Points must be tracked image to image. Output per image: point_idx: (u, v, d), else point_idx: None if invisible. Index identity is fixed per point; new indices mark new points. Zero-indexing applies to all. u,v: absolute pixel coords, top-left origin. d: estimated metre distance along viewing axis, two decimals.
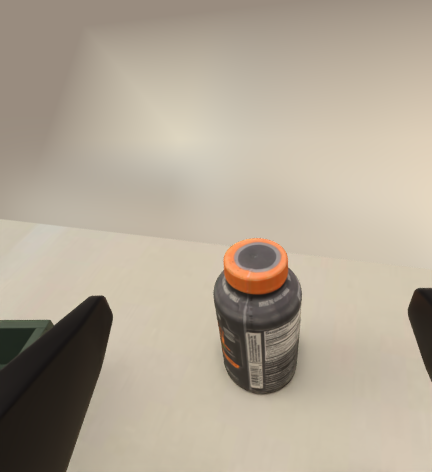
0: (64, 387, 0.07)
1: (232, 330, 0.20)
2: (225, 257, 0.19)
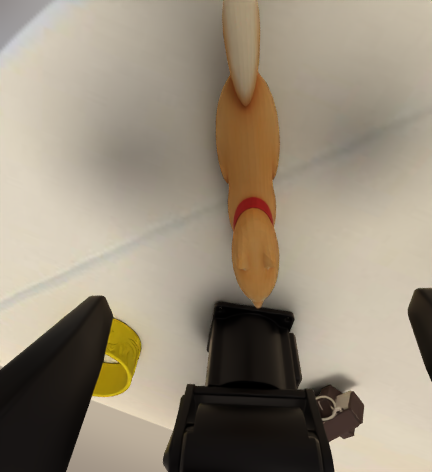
0: (64, 387, 0.07)
1: None
2: None
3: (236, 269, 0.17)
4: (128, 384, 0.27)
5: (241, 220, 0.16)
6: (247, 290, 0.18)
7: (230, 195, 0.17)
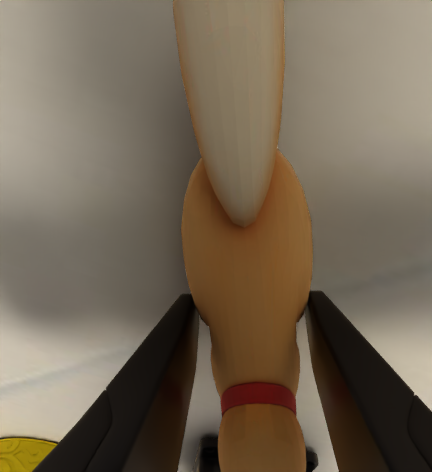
0: (177, 389, 0.07)
1: None
2: None
3: None
4: None
5: (235, 426, 0.08)
6: None
7: (214, 359, 0.09)
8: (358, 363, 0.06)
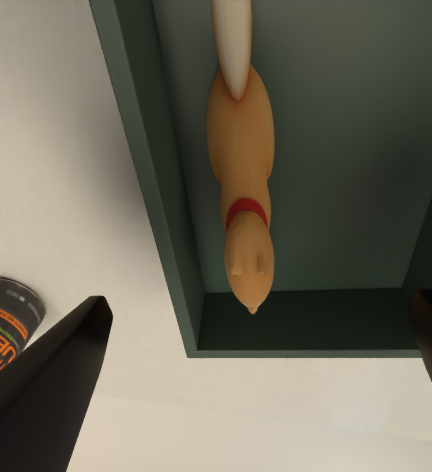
0: (64, 387, 0.07)
1: None
2: None
3: (229, 274, 0.16)
4: None
5: (233, 223, 0.15)
6: (241, 296, 0.17)
7: (222, 196, 0.16)
8: None
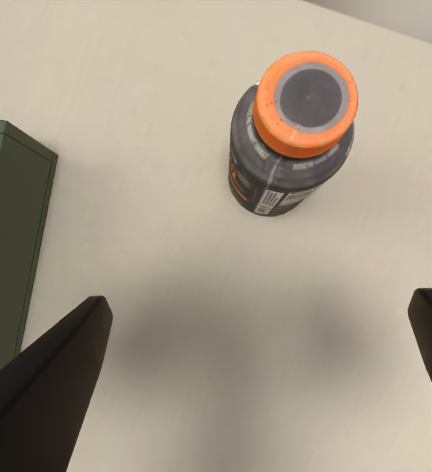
0: (64, 387, 0.07)
1: (250, 181, 0.16)
2: (260, 91, 0.12)
3: None
4: None
5: None
6: None
7: None
8: None
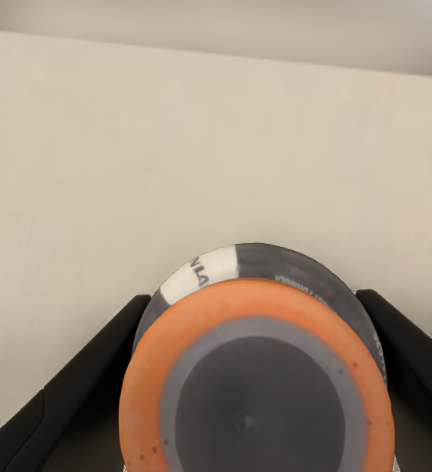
0: (121, 388, 0.07)
1: None
2: (123, 415, 0.05)
3: None
4: None
5: None
6: None
7: None
8: (430, 363, 0.06)
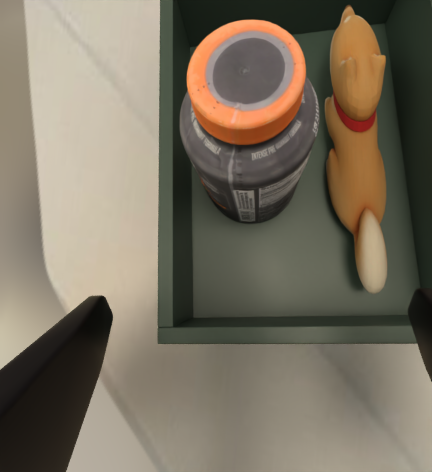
0: (64, 387, 0.07)
1: (214, 185, 0.14)
2: (189, 76, 0.10)
3: (380, 54, 0.17)
4: None
5: (374, 108, 0.17)
6: (368, 29, 0.17)
7: None
8: None
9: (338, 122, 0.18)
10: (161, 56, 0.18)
